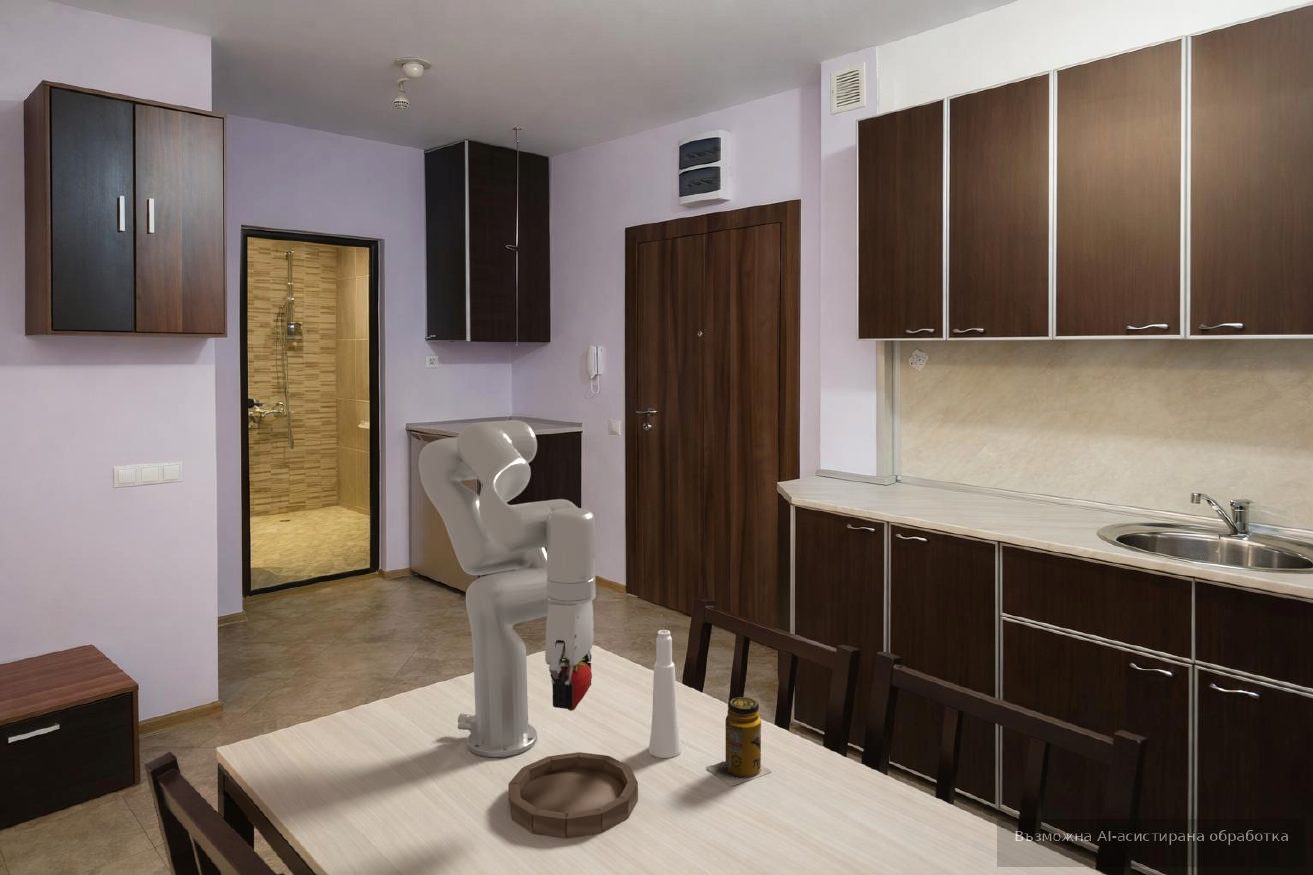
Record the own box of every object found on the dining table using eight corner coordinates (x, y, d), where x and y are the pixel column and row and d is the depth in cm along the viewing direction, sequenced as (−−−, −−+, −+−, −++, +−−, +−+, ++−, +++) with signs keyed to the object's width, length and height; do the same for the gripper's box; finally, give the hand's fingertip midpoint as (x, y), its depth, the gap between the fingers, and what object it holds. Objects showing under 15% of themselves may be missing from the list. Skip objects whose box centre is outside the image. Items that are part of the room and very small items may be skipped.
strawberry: (599, 703, 134) (598, 643, 133) (579, 723, 127) (579, 660, 126) (566, 697, 136) (565, 639, 135) (545, 717, 129) (544, 655, 128)
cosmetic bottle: (655, 740, 154) (653, 624, 151) (686, 745, 152) (685, 627, 149) (643, 755, 148) (642, 635, 146) (675, 760, 146) (674, 638, 144)
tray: (488, 826, 126) (487, 807, 126) (540, 763, 145) (539, 747, 145) (613, 845, 121) (613, 825, 121) (650, 777, 140) (650, 760, 140)
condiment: (771, 772, 142) (771, 704, 140) (732, 787, 137) (732, 717, 136) (744, 755, 148) (744, 690, 146) (705, 768, 143) (705, 701, 142)
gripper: (568, 571, 139) (569, 672, 141) (526, 603, 122) (528, 717, 124) (611, 574, 137) (611, 677, 139) (574, 607, 120) (576, 723, 122)
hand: (572, 695), depth 132 cm, fingers closed on strawberry, 7 cm apart
